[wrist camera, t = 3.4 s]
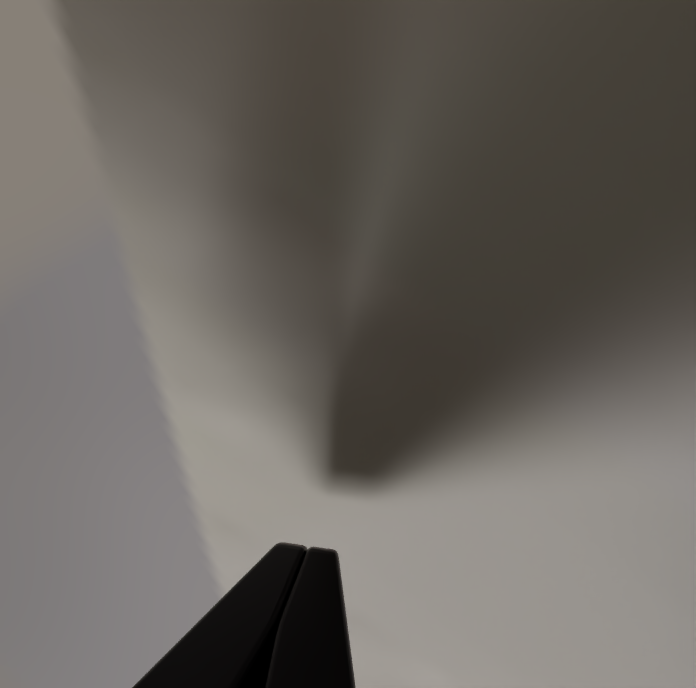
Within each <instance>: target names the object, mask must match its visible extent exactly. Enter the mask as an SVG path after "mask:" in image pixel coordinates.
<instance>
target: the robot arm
mask: <svg viewBox="0 0 696 688" xmlns="http://www.w3.org/2000/svg"><path fill="white" fill-rule="evenodd" d="M133 688H355V680H354V672H353V664H352V657H351V649H350V641H349V634H348V626H347V618H346V611H345V603H344V595H343V587H342V580H341V572H340V564H339V557H338V553H337V551H335V550H333V549H326V548H319V547H310V548H309V549H308V550H307V548H306V547H305V546H303V545H298V544H291V543H278V544H276V545H275V546H274V547H273V548H272V549H271V550H270V551H269V552H268V553H267V554H266V555H265V556H264V557H263V558H262V559H261V560H260V561H259V562H258V563H257V564H256V565H255V566H254V567H253V568H252V569H251V570H250V571H249V572H248V573H247V574H246V575H245V576H244V577H243V578H242V579H241V580H240V581H239V582H238V583H237V584H236V585H235V586H234V587H233V588H232V589H231V590H230V591H229V592H228V593H227V594H226V595H225V596H224V597H223V598H222V599H221V600H220V601H219V602H218V603H217V604H216V605H215V606H214V607H213V608H212V609H211V610H210V611H209V612H208V613H207V614H206V615H205V616H204V617H203V618H202V619H201V620H200V621H199V622H198V623H197V624H196V625H195V626H194V627H193V628H192V629H191V630H190V631H189V632H188V633H187V634H186V635H185V636H184V637H183V638H182V639H181V640H180V641H179V642H178V643H177V644H176V645H175V646H174V647H173V648H172V649H171V650H170V651H169V652H168V653H167V654H166V655H165V656H164V657H163V658H162V659H161V660H160V661H159V662H158V663H157V664H156V665H155V666H154V667H153V668H152V669H151V670H150V671H149V672H148V673H147V674H146V675H145V676H144V677H143V678H142V679H141V680H140V681H139V682H138V683H137V684H136V685H135V686H134V687H133Z"/></svg>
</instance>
